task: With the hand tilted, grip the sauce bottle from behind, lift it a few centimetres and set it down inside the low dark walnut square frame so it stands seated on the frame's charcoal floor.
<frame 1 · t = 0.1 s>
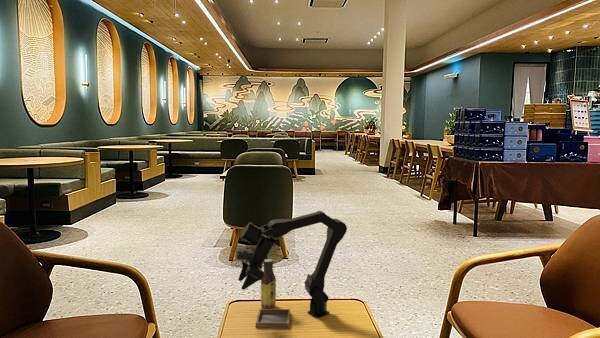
hand: (240, 284, 173), 15 cm above the table, tool tilted 35°, fingers open, 9 cm apart
sauce bottle: (268, 307, 189), on the table
walnut frame: (273, 320, 176), on the table
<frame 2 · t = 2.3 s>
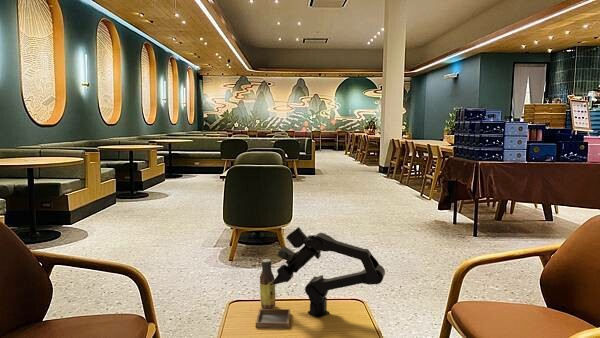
hand: (277, 279, 187), 12 cm above the table, tool tilted 45°, fingers open, 9 cm apart
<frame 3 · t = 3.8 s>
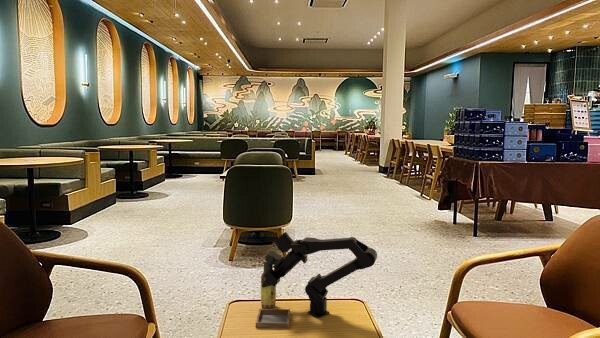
hand: (265, 284, 189), 10 cm above the table, tool tilted 45°, fingers closed on sauce bottle, 6 cm apart
sauce bottle: (268, 306, 189), on the table, touching gripper
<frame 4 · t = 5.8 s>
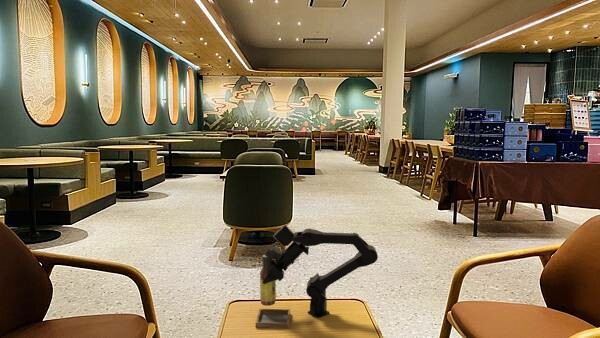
hand: (264, 280, 183), 13 cm above the table, tool tilted 45°, fingers closed on sauce bottle, 6 cm apart
sauce bottle: (268, 303, 184), point 4 cm above the table, touching gripper
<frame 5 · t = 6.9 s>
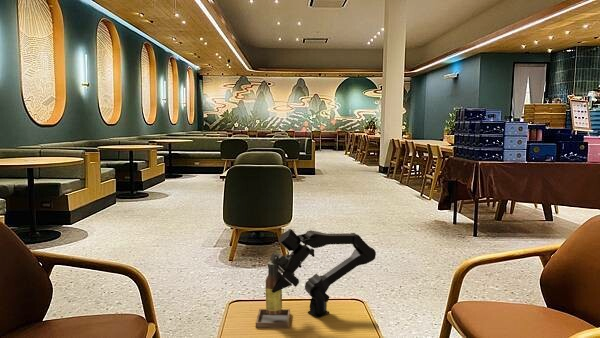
hand: (270, 289, 174), 13 cm above the table, tool tilted 45°, fingers closed on sauce bottle, 6 cm apart
sauce bottle: (273, 312, 176), point 3 cm above the table, touching gripper
when the fingers open (11 cm above the table, at t = 7.7 s): sauce bottle stays where it is, resting on walnut frame.
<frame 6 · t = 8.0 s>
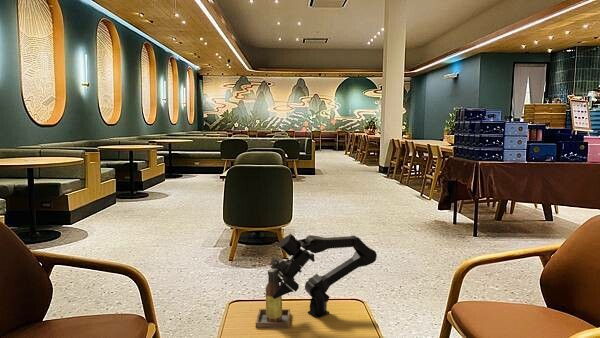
hand: (269, 293, 174), 11 cm above the table, tool tilted 45°, fingers open, 9 cm apart
sauce bottle: (273, 320, 176), resting on walnut frame
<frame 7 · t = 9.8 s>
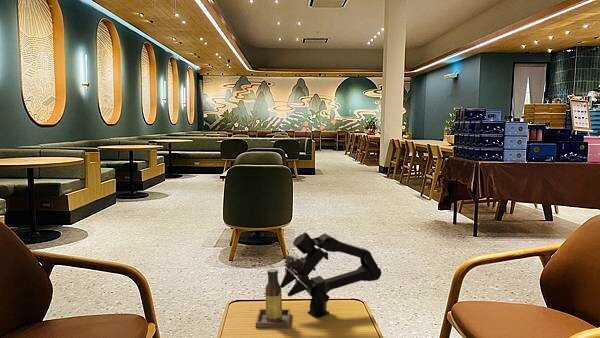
hand: (284, 291, 176), 11 cm above the table, tool tilted 45°, fingers open, 9 cm apart
nothing on the table moved.
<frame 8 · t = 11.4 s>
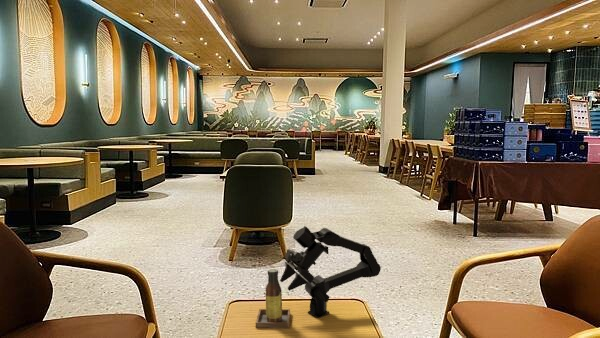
hand: (284, 285, 176), 14 cm above the table, tool tilted 45°, fingers open, 9 cm apart
nothing on the table moved.
at the end: sauce bottle 0.2 cm off-centre on the walnut frame, point 0.1 cm above the walnut frame's base; sauce bottle tilted 0°; the gripper is holding nothing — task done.
